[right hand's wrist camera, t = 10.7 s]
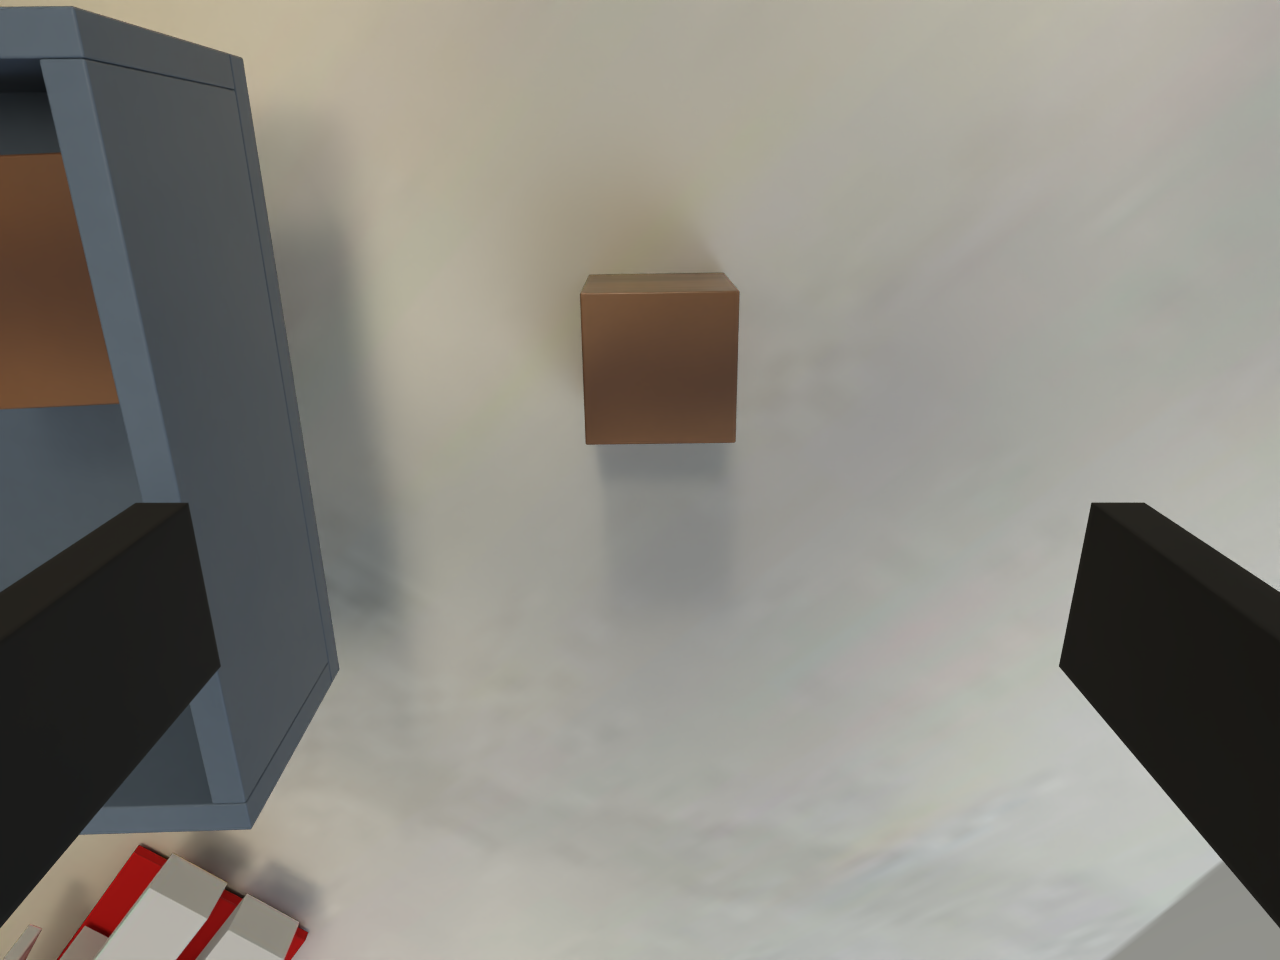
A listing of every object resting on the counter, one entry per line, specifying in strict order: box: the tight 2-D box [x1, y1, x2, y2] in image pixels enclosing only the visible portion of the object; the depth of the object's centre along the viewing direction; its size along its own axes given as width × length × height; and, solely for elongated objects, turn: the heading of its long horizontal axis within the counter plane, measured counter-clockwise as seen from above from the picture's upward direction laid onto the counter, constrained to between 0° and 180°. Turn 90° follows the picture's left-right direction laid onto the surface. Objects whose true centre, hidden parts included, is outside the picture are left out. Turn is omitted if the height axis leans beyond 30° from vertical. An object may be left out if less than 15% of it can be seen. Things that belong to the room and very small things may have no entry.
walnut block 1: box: [0, 152, 119, 410], centre depth 19 cm, size 5×5×5 cm
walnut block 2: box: [580, 273, 739, 445], centre depth 30 cm, size 5×5×5 cm
